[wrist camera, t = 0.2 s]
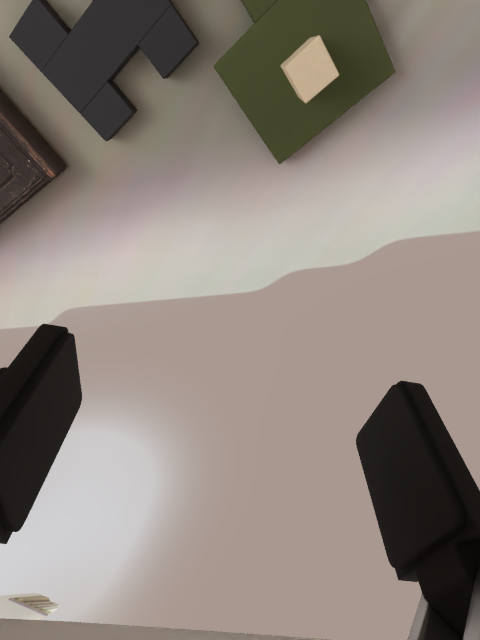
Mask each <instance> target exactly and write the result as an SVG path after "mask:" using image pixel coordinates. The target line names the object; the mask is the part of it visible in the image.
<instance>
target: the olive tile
mask: <svg viewBox="0 0 480 640" xmlns="http://www.w3.org/2000/svg"><path fill="white" fill-rule="evenodd" d="M241 1H242V2H243V4H244V6H245V8H246V9H247V11H248V13H249V15H250V16H251V18H252V20H253V21H254V23H255V24H254V25H253V26H252V27H251V28H250V29H249V30H248V31H247V32H246V33H245V34H244V35H243V36H242V37H241V38H240V39H239V40H238V41H237V42H236V43H235V44H234V45H233V47H232V48H231V49H230V50H229V51H228V52H227V53H226V54H225V55H224V56H223V57H222V58H221V59H220V60H219V61H218V62H217V63H216V64H215V65H214V68H215V70H216V71H217V72H218V74H219V75H220V77H221V78H222V80H223V81H224V83H225V84H226V86H227V87H228V89H229V90H230V92H231V93H232V95H233V96H234V98H235V99H236V101H237V102H238V104H239V105H240V107H241V108H242V110H243V111H244V113H245V114H246V116H247V117H248V119H249V120H250V122H251V123H252V124H253V126H254V127H255V129H256V130H257V132H258V133H259V135H260V136H261V138H262V139H263V141H264V142H265V144H266V145H267V147H268V148H269V150H270V151H271V153H272V154H273V156H274V157H275V159H276V160H277V162H278V163H279V164H281V163H282V162H283V161H284V160H286V159H287V158H288V157H289V156H291V155H292V154H293V153H294V152H296V151H297V150H298V149H299V148H301V147H302V146H303V145H304V144H306V143H307V142H308V141H309V140H311V139H312V138H313V137H314V136H316V135H317V134H318V133H319V132H321V131H322V130H323V129H324V128H326V127H327V126H328V125H329V124H331V123H332V122H333V121H335V120H336V119H337V118H338V117H340V116H341V115H342V114H343V113H345V112H346V111H347V110H348V109H350V108H351V107H352V106H353V105H355V104H356V103H357V102H358V101H360V100H361V99H362V98H363V97H365V96H366V95H367V94H368V93H370V92H371V91H372V90H373V89H375V88H376V87H377V86H378V85H380V84H381V83H382V82H383V81H385V80H386V79H387V78H388V77H390V76H391V75H392V74H394V73H395V70H394V67H393V65H392V63H391V60H390V58H389V55H388V53H387V51H386V48H385V46H384V43H383V41H382V39H381V36H380V34H379V32H378V29H377V27H376V24H375V22H374V20H373V17H372V15H371V12H370V10H369V8H368V5H367V3H366V0H241Z"/></svg>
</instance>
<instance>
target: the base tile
mask: <svg viewBox="0 0 480 640" xmlns="http://www.w3.org/2000/svg"><path fill="white" fill-rule="evenodd" d="M9 37H10V38H11V39H12V41H13V42H14V43H15V44H16V45H17V46H18V47H19V48H20V49H21V50H22V51H23V52H24V54H25V55H26V56H27V57H28V58H29V59H30V60H31V61H32V62H33V63H34V64H35V65H36V67H37V68H38V69H39V70H40V71H41V72H42V73H43V74H44V75H45V76H46V77H47V78H48V79H49V81H50V82H51V83H52V84H53V85H54V86H55V87H56V88H57V89H58V90H59V91H60V92H61V94H62V95H63V96H64V97H65V98H66V99H67V100H68V101H69V102H70V103H71V104H72V105H73V107H74V108H75V109H76V110H77V111H78V112H79V113H81V115H82V116H83V117H84V118H85V119H86V120H87V121H88V123H89V124H90V125H91V126H92V127H93V128H94V129H95V130H96V131H97V132H98V133H99V134H100V136H101V137H102V138H103V139H104V140H105V141H108V140H110V139H111V138H112V137H113V136H114V135H115V134H116V133H117V132H118V131H119V130H120V129H121V128H122V126H123V125H124V124H125V123H126V122H127V121H128V120H129V119H130V118H131V117H132V116H133V115H134V113H135V112H136V111H137V109H136V108H135V107H134V106H133V105H132V103H131V102H130V101H129V100H128V99H127V97H126V96H125V95H124V94H123V93H122V91H121V90H120V89H119V88H118V87H117V85H116V84H115V83H114V82H113V81H112V80H113V79H114V78H115V76H116V75H117V74H118V73H119V72H120V70H121V69H122V68H123V67H124V66H125V65H126V63H127V62H128V61H129V60H130V59H131V57H132V56H133V55H134V54H135V53H136V51H137V50H138V49H139V48H141V50H142V51H143V52H144V54H145V55H146V56H147V58H148V59H149V60H150V62H151V63H152V64H153V66H154V67H155V68H156V70H157V71H158V72H159V73H160V75H161V76H162V77H163V79H165V78H168V77H169V75H170V74H171V73H172V72H173V71H174V70H175V69H176V68H177V67H178V66H179V65H180V64H181V62H182V61H183V60H184V59H185V58H186V57H187V56H188V55H189V54H190V53H191V52H192V50H193V49H194V48H195V47H196V46H197V45H198V44H199V42H198V40H197V39H196V38H195V36H194V35H193V33H192V32H191V30H190V29H189V27H188V26H187V24H186V23H185V21H184V20H183V18H182V17H181V15H180V14H179V12H178V11H177V9H176V8H175V7H174V5H173V3H172V2H171V0H93V1H92V3H91V4H90V5H89V7H88V8H87V10H86V11H85V12H84V14H83V15H82V17H81V18H80V19H79V21H78V22H77V23H76V25H75V26H74V28H73V29H72V30H70V29H69V27H68V26H67V25H66V24H65V23H64V21H63V20H62V19H61V18H60V17H59V15H58V14H57V13H56V12H55V11H54V9H53V8H52V7H51V6H50V5H49V3H48V2H47V1H46V0H32V2H31V3H30V5H29V6H28V8H27V9H26V11H25V13H24V14H23V16H22V17H21V19H20V20H19V22H18V23H17V25H16V27H15V28H14V30H13V31H12V33H11V34H10V36H9Z"/></svg>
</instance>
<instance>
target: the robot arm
mask: <svg viewBox="0 0 480 640" xmlns="http://www.w3.org/2000/svg"><path fill="white" fill-rule="evenodd" d="M81 401H82V392H81V385H80V376H79V369H78V361H77V353H76V346H75V338H74V335H73V334H71V333H68V329H67V328H66V327H61V326H55V325H48V324H42V325H41V326H40V327H39V328H38V329H37V331H36V332H35V333H34V335H33V336H32V337H31V338H30V340H29V341H28V342H27V344H26V345H25V346H24V347H23V349H22V350H21V351H20V353H19V354H18V355H17V357H16V358H15V359H14V360H13V362H12V363H11V364H10V366H9V367H8V368H1V369H0V543H2V544H7V542H8V540H9V538H10V536H11V534H12V532H17V531H19V530H20V529H21V527H22V526H23V524H24V522H25V520H26V518H27V516H28V514H29V512H30V510H31V508H32V506H33V504H34V502H35V499H36V497H37V495H38V493H39V491H40V489H41V487H42V485H43V483H44V481H45V479H46V477H47V475H48V472H49V470H50V468H51V466H52V464H53V462H54V460H55V458H56V455H57V454H58V452H59V450H60V447H61V445H62V443H63V441H64V439H65V437H66V435H67V433H68V431H69V429H70V427H71V424H72V422H73V420H74V418H75V416H76V414H77V412H78V409H79V408H80V405H81ZM356 445H357V449H358V453H359V456H360V460H361V463H362V467H363V470H364V474H365V478H366V481H367V485H368V489H369V492H370V496H371V499H372V503H373V507H374V510H375V514H376V517H377V521H378V525H379V528H380V532H381V535H382V539H383V543H384V546H385V550H386V553H387V556H388V560H389V562H390V564H391V566H392V567H394V568H395V570H396V573H397V577H398V580H402V581H413V582H417V581H419V584H420V587H421V590H422V596H421V599H420V602H419V605H418V608H417V611H416V614H415V617H414V621H413V624H412V627H411V630H410V634H409V636H408V639H407V640H480V491H479V489H478V487H477V485H476V483H475V481H474V479H473V478H472V476H471V474H470V472H469V470H468V468H467V467H466V465H465V463H464V461H463V459H462V457H461V455H460V453H459V451H458V449H457V448H456V446H455V444H454V442H453V440H452V438H451V436H450V434H449V433H448V431H447V429H446V427H445V425H444V423H443V421H442V420H441V418H440V416H439V414H438V412H437V410H436V408H435V406H434V405H433V403H432V401H431V399H430V397H429V395H428V393H427V391H426V390H425V388H424V386H423V385H421V384H419V383H412V382H406V381H400V382H398V383H397V384H396V385H393V386H392V387H391V388H390V389H389V391H388V392H387V394H386V395H385V396H384V398H383V399H382V401H381V402H380V404H379V405H378V406H377V408H376V409H375V410H374V412H373V413H372V415H371V416H370V418H369V419H368V420H367V422H366V423H365V425H364V426H363V427H362V429H361V430H360V432H359V433H358V435H357V438H356ZM0 640H327V639H314V638H300V637H284V636H272V635H257V634H243V633H228V632H214V631H201V630H186V629H170V628H156V627H140V626H126V625H111V624H96V623H81V622H80V623H79V622H63V621H42V620H21V619H0Z"/></svg>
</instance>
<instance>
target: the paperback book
mask: <svg viewBox="0 0 480 640" xmlns="http://www.w3.org/2000/svg"><path fill="white" fill-rule="evenodd" d="M65 169H66V166H65V165H64V163H63V162H62V161H61V160H60V159H59V158H58V157H57V155H56V154H55V153H54V152H53V151H52V150H51V149H50V147H49V146H48V145H47V144H46V143H45V142H44V141H43V139H42V138H41V137H40V136H39V135H38V134H37V133H36V132H35V130H34V129H33V128H32V127H31V126H30V125H29V124H28V122H27V121H26V120H25V119H24V118H23V117H22V116H21V114H20V113H19V112H18V111H17V110H16V109H15V108H14V106H13V105H12V104H11V103H10V102H9V101H8V100H7V98H6V97H5V96H4V95H3V94H2V93H1V92H0V223H2V222H3V221H4V220H5V219H6V218H8V217H9V216H10V215H11V214H12V213H14V212H15V211H16V210H17V209H18V208H20V207H21V206H22V205H23V204H24V203H26V202H27V201H28V200H29V199H30V198H32V197H33V196H34V195H35V194H36V193H37V192H39V191H40V190H41V189H42V188H43V187H45V186H46V185H47V184H48V183H49V182H51V181H52V180H53V179H54V178H55V177H57V176H58V175H59V174H60V173H61V172H63V171H64V170H65Z"/></svg>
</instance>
